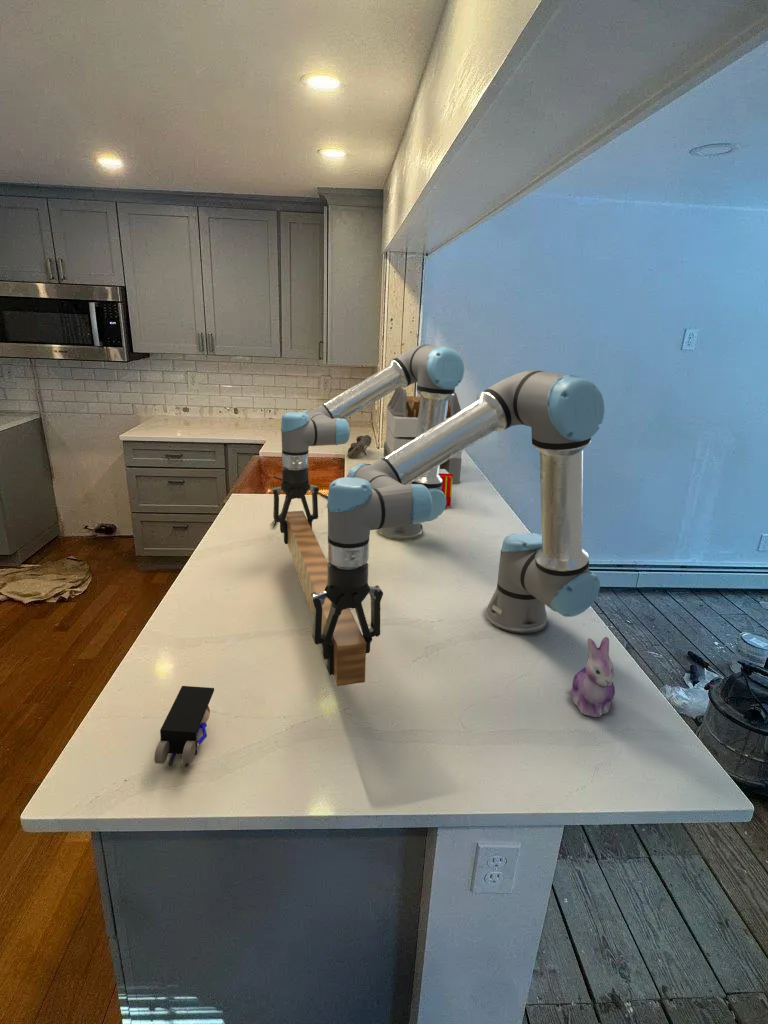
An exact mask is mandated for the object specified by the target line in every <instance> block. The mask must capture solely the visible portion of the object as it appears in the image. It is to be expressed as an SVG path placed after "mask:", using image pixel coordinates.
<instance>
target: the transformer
mask: <svg viewBox="0 0 768 1024" xmlns="http://www.w3.org/2000/svg"><path fill="white" fill-rule="evenodd" d="M407 394H408V393H407V390H406V389H405V388H404V387H399V388H397V389H396V390H394V391H393V394H392V395H391V398H390V400H389V402H388V404H387V405H386V413H385V414H386V415H385V423H386V428H385V438H384V442H383V458H384V457H385V456H387V455H389V454H390V453H392V452H394V451H395V450H397V449H399V448H400V447H402V446H403V445H405V444H407V443H408V442H410V441H412V440H413V439H415V438H416V433H417V424H418V416H419V407H420V399H421V396H415V395H414V396H413V395H412V396H411V395H407ZM461 410H462V408H461V405H460V402H459V398H458V395H457V392H454V395H453V396H452V397H451V398H449V400H448V407H447V415H446V419H448V418H449V417H451V416H453V415H454V414H456V413H457V412H459V411H461ZM462 453H463V451H461V452H460V453H458V454H457V455H455V456H453V457H452V458H450V459H449V460H447V461H445V462H444V463H442V464H441V465H440V468H439V469H445V470H446V471H447V472H448V473H449V474H453V475H452V477H453V478H452V484H455V483H456V484H459V483H461V472H462V461H463V460H462Z"/></svg>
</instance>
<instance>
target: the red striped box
mask: <svg viewBox="0 0 768 1024" xmlns="http://www.w3.org/2000/svg"><path fill="white" fill-rule="evenodd" d="M452 475H453V474H449V473H448V472H447V471H446V470H445V469H439V476H440V477H441V478H442V489H441V491H442V492H443V493H444V495H445V497H446V506H445V508H447V507H448V508H450V507H451V506H452V495H453V493H452V492H453V483H452V478H453V477H452Z"/></svg>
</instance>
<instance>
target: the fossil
mask: <svg viewBox="0 0 768 1024" xmlns="http://www.w3.org/2000/svg"><path fill="white" fill-rule="evenodd" d="M355 441H356V442H352V443H350V446H349V448H348V449H347V457H348V458H349V459H355V458H357V457H359V456H360V455H361V454H362V453H364V455H367V453H366V450H367V448H368V447H370V446H371V444H372V437H371V435H369V434H366V435H359V436H357V437H356V440H355Z"/></svg>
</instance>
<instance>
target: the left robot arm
mask: <svg viewBox="0 0 768 1024" xmlns="http://www.w3.org/2000/svg"><path fill="white" fill-rule="evenodd" d="M464 375H465V362H464V360H463V358H462V356H461V355H460V354H459V352H457V350H455V349H453V348H450V347H447V346H440V345H432V344H426V343H425V344H424V343H423V344H419V345H415V346H413V347H411V348H410V349H408V350H406V351H404V352H402V353H401V354H399V355H398V356H396V357H394V358H392V359H391V360H390V361H389V363H388V366H386V367H384V368H382V369H381V370H379V371H377V372H376V373H374V374H372V375H371V376H369V377H367V378H366V379H364V380H362V381H360V382H359V383H357V384H355V385H353V386H352V387H350V388H348V389H346V390H345V391H343V392H342V393H340V394H338V395H337V396H334V397H333V398H332V399H330V400H328V401H327V402H325V403H323V404H321V405H319V406H318V407H316V408H308V409H305V410H304V411H302V412H301V411H288V412H285V413H283V415H282V416H281V421H280V423H281V425H280V431H281V432H280V433H281V435H280V437H281V466H282V468H281V478H280V477H277V476H274V475H273V476H272V478H273V479H276V480H278V481H281V484H280V485H279V486H278V487H272V488H271V491H272V494H273V511H272V512H273V514H272V517H273V521H275V522H277V523H279V531H280V533H281V534H283V543H284V545H287V544H288V537H287V522H286V520H285V519H286V516H287V512H289V510H290V509H289V508H290V505H291V503H292V500H295V499H300V500H301V503H302V507H303V511H304V514H305V516H306V518H307V520H308V522H309V524H310V527H311V529H312V530H313V521H314V520H318V519H319V504H318V503H319V501H318V500H319V499H318V495H320V496H322V497H324V498H326V499H328V495H326V494H324V493H321V492H319V491H320V488H319V486H318V485H316V484H315V485H312V484H310V481H309V475H310V474H309V473H310V472H309V453H310V451H309V447H319V446H320V447H323V446H338V445H345V444H347V443H348V442H349V440H350V436H351V429H350V424H349V421H347V419H349V418H351V417H352V416H354V415H355V414H357V413H359V412H360V411H361V412H362V411H363V410H364V409H366V408H367V407H369V406H371V405H372V404H374V403H376V402H378V401H379V400H381V399H382V398H384V397H386V396H387V395H389V394H391V393H392V392H395V390H396V389H397V388H399V387H402V388H403V389H405V388H407V387H409V386H410V385H414V384H416V392H417V393H418V395H419V397H421V399H420V407H419V416H418V424H417V433H416V438H417V437H418V436H420V435H421V434H423V433H425V432H426V431H428V430H430V429H431V428H433V427H435V426H436V425H438V424H439V423H441V422H443V421H444V420H446V415H447V407H448V400H449V398H451V397H452V396H453V395H454V392H455V391H456V387H458V386H459V384H460V383H461V382H462V381H463V378H464V377H465V376H464ZM455 393H456V392H455ZM439 468H440V465H439V466H437V467H436V468H434V469H433V470H431V471H429V472H428V473H426V474H425V475H423V476H421V477H420V478H418V479H417V480H415V481H413V482H412V483H410V484H422V485H424V486H425V487H426V488H427V489H428V490H429V492H430V495H431V498H432V513H431V515H430V517H429V519H428V520H427V521H426V522H427V523H428V522H433V521H435V520H436V519H438V517H439V516H441V515H442V514H443V512H444V511H445V508H446V507H445V506H446V497H445V495H444V493H443V492H442V491H441V489H442V478H441V477H440V476H439ZM309 491H310V493H311V505H312V507H311V508H312V513H311V511H310V508H309V505H308V502H307V497H306V494H307V493H308V492H309ZM282 492H283V493H284V494H285V497H284V502H283V506H282V509H281V511H280V495H281V493H282ZM280 514H281V515H280ZM279 515H280V517H279ZM275 522H274V523H275ZM426 522H425V523H426ZM423 530H424V527H423V523H419V524H414V525H412V526H409V525H408V526H400V527H392V528H383V529H378V533H379V534H380V535H381V536H382V537H385V538H387V539H389V540H395V541H410V540H415V539H418V538H420V537H421V536H422V535H423Z"/></svg>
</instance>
